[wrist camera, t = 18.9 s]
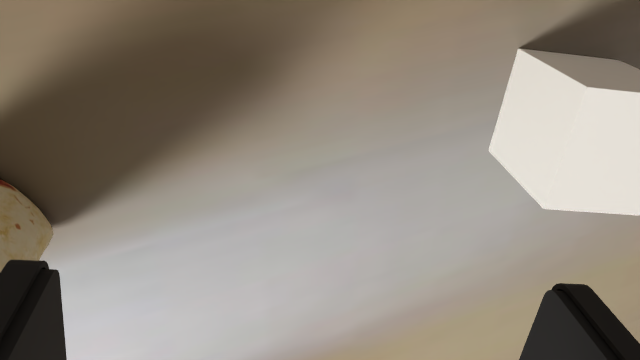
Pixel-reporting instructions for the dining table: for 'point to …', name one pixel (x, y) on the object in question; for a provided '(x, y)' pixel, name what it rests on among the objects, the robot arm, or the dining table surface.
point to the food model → (21, 227)
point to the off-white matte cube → (572, 131)
